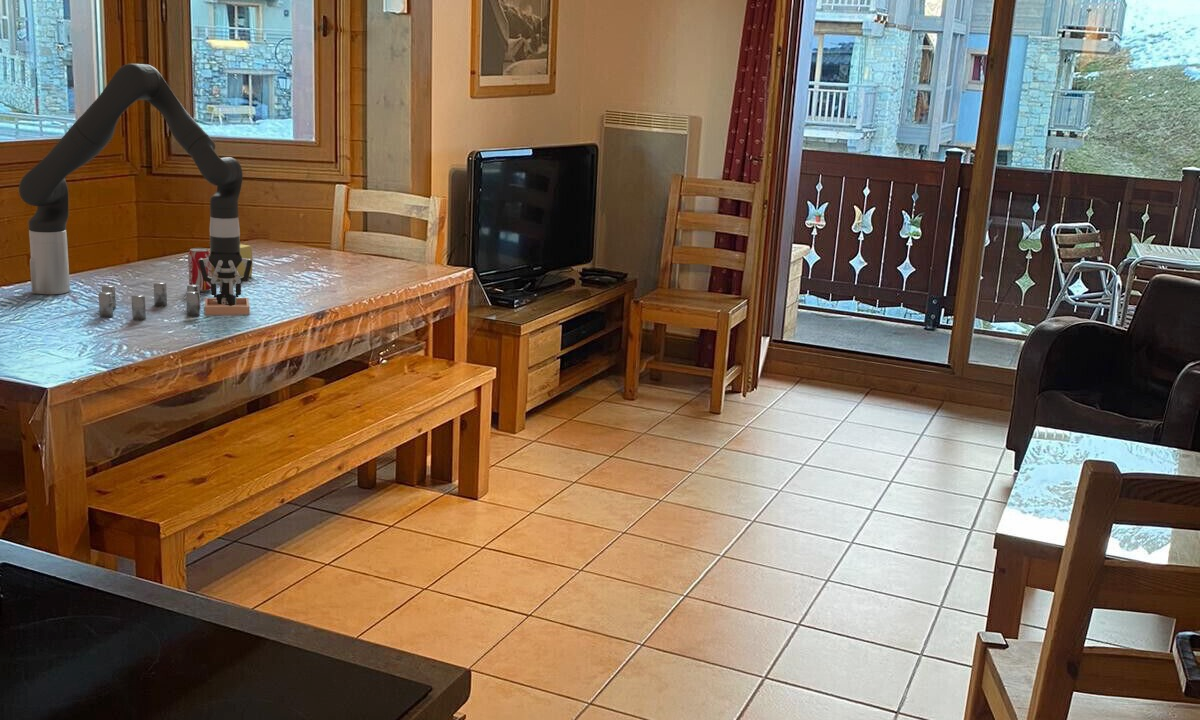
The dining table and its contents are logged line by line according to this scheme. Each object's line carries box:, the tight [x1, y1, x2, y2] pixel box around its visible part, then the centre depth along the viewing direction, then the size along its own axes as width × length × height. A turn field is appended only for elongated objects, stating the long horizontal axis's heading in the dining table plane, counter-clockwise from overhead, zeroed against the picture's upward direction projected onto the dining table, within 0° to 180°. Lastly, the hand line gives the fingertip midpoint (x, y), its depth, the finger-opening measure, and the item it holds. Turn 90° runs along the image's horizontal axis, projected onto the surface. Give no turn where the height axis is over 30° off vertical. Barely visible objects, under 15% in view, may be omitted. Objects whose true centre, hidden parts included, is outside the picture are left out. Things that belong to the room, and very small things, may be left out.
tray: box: [204, 297, 251, 316], centre depth 305 cm, size 11×11×2 cm
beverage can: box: [187, 247, 212, 293], centre depth 325 cm, size 6×6×12 cm
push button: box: [212, 268, 237, 306], centre depth 304 cm, size 7×5×10 cm
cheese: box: [209, 243, 253, 282], centre depth 347 cm, size 10×11×10 cm
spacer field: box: [98, 281, 201, 321], centre depth 298 cm, size 24×19×6 cm
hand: (226, 296), depth 304 cm, fingers closed on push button, 5 cm apart
